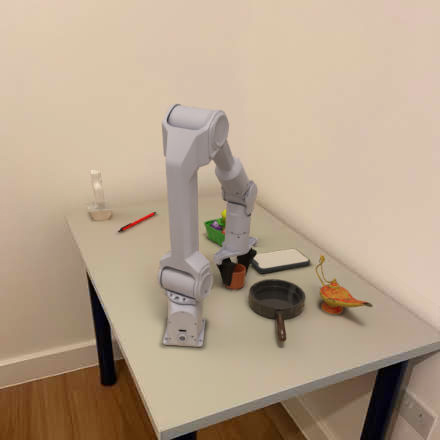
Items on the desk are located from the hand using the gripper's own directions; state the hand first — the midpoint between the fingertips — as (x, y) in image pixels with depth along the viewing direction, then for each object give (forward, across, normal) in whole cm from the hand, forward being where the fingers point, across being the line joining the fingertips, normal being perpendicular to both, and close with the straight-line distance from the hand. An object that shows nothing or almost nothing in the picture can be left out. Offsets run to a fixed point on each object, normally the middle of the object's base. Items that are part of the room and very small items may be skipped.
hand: (234, 279), depth 110 cm
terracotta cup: (+1, 0, 0) cm, 1 cm away
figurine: (+2, -2, -58) cm, 58 cm away
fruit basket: (+2, -18, -18) cm, 25 cm away
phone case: (+2, -18, +1) cm, 18 cm away
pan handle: (0, +9, +20) cm, 22 cm away
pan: (+1, 0, +13) cm, 13 cm away
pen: (+2, -8, -46) cm, 47 cm away
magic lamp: (+2, -8, +25) cm, 26 cm away
